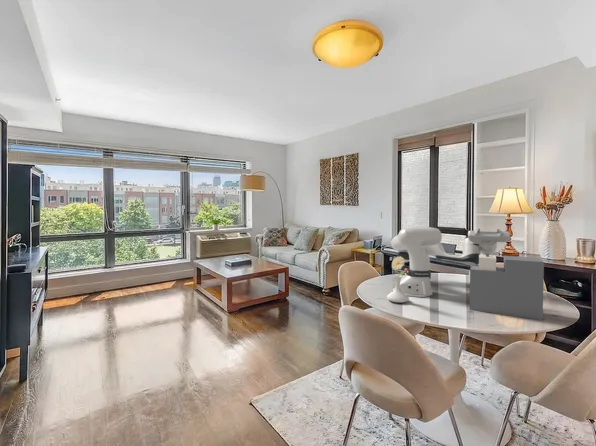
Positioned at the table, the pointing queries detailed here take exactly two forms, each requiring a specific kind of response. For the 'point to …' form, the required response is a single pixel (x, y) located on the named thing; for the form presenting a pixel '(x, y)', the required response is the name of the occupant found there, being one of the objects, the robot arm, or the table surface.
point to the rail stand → (509, 288)
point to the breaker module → (487, 262)
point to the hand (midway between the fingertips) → (488, 230)
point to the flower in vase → (398, 282)
